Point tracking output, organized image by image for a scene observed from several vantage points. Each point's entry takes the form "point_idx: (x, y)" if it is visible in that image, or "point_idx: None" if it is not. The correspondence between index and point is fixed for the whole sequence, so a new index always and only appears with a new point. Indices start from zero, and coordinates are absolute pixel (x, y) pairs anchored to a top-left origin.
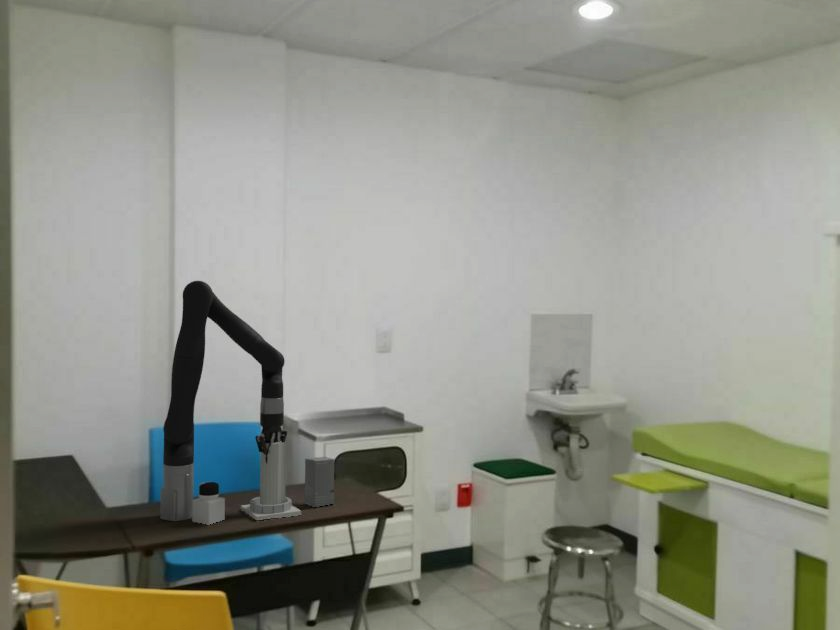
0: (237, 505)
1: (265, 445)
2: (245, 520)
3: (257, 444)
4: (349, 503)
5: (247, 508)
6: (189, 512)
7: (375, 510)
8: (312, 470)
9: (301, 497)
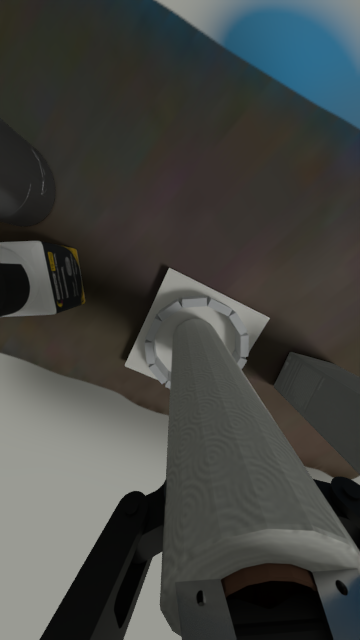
0: (196, 225)
1: (120, 633)
2: (117, 337)
3: (60, 609)
4: None
5: (159, 302)
6: (15, 222)
7: (317, 469)
8: (347, 447)
9: (343, 303)
